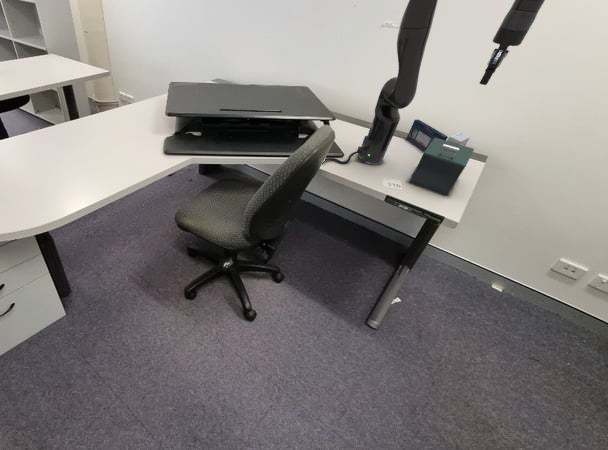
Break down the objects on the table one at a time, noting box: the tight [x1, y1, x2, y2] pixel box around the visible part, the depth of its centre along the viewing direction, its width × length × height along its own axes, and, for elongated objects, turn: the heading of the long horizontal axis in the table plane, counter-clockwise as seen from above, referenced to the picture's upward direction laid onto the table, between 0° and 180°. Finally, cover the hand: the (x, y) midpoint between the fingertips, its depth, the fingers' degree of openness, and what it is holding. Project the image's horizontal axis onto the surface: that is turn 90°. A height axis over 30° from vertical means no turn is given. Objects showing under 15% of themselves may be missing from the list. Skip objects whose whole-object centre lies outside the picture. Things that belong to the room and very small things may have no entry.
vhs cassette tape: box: [405, 119, 449, 153], centre depth 148 cm, size 18×3×10 cm, turn 11°
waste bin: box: [408, 154, 466, 197], centre depth 126 cm, size 16×14×13 cm
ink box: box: [446, 131, 471, 146], centre depth 139 cm, size 8×5×12 cm, turn 123°
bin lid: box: [422, 138, 475, 168], centre depth 120 cm, size 16×14×5 cm
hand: (482, 84), depth 114 cm, fingers closed
